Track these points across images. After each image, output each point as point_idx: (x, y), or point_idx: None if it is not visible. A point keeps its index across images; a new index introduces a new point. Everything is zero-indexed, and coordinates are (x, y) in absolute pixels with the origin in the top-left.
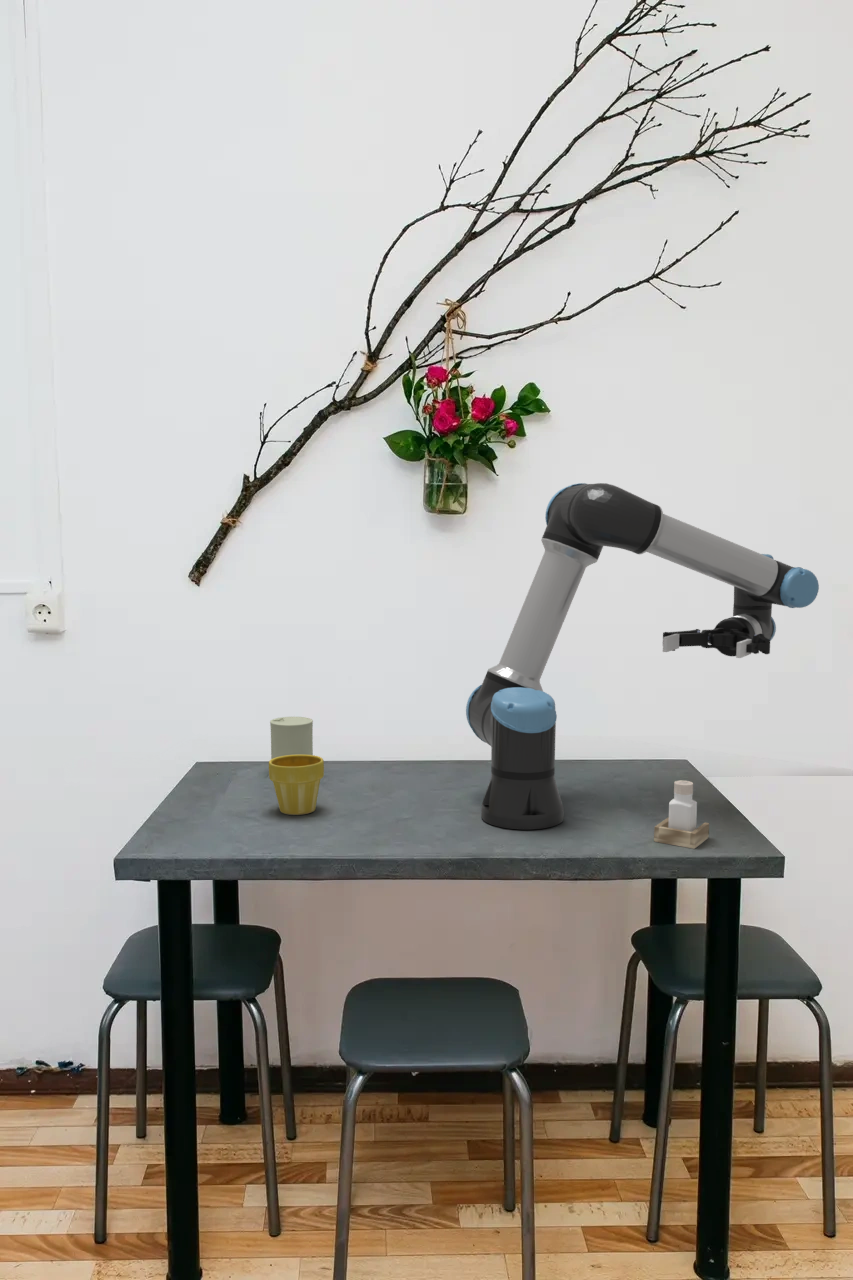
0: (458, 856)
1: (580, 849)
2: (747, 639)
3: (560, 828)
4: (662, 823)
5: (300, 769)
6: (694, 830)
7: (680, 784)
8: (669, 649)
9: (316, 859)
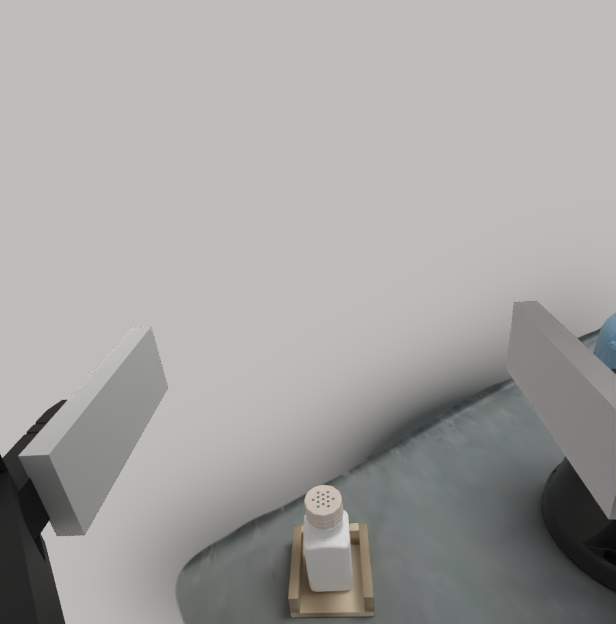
0: (515, 385)
1: (432, 459)
2: (61, 426)
3: (530, 518)
4: (363, 547)
5: None
6: (300, 540)
7: (323, 485)
8: (524, 385)
9: (594, 332)
